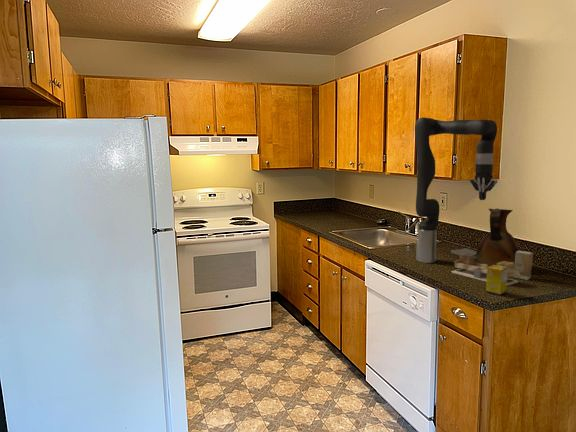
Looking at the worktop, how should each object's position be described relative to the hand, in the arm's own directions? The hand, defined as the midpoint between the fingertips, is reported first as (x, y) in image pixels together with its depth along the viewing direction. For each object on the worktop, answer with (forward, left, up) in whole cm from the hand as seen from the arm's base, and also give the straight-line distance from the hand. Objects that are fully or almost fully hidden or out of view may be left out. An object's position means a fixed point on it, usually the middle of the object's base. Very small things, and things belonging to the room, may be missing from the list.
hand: (482, 199), depth 205 cm
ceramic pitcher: (+1, +14, -35) cm, 38 cm away
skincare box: (+18, +6, -35) cm, 40 cm away
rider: (-2, -7, -31) cm, 32 cm away
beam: (+7, -7, -32) cm, 33 cm away
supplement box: (+23, -23, -35) cm, 48 cm away
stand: (+7, -7, -35) cm, 36 cm away
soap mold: (-22, +25, -36) cm, 49 cm away
